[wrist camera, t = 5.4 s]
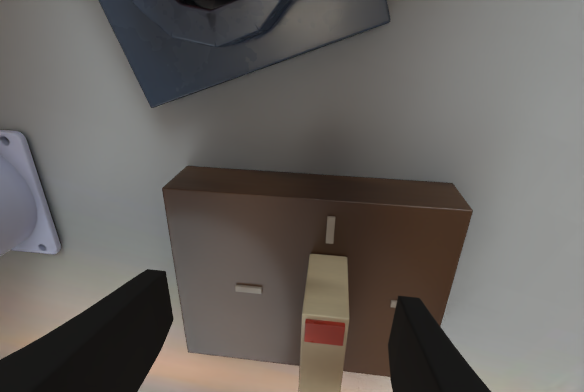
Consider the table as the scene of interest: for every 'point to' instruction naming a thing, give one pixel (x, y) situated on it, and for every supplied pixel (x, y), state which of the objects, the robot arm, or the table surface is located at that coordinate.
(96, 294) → the table surface
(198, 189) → the panel
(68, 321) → the robot arm
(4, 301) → the table surface
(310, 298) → the cream block red label
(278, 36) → the button box
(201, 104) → the table surface
